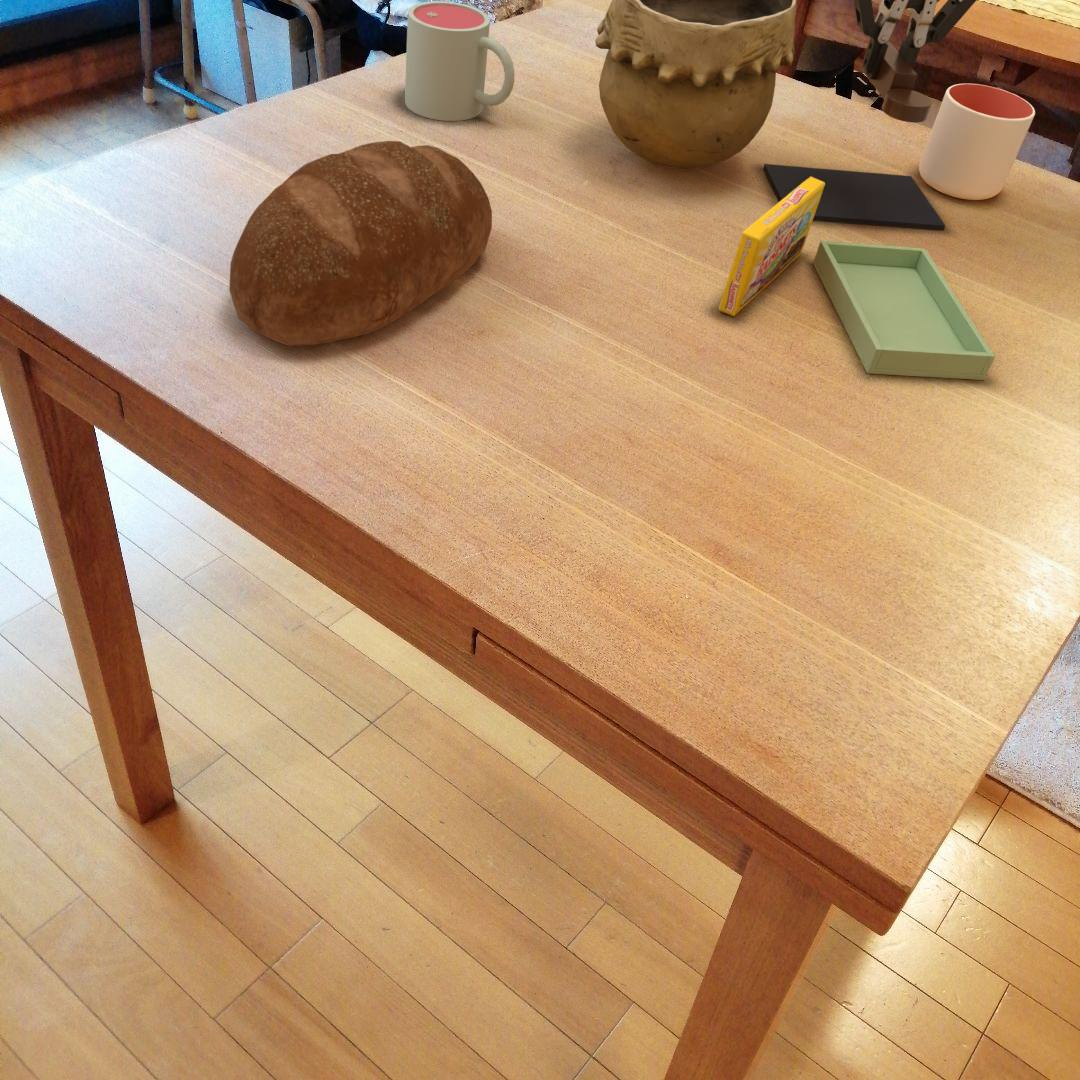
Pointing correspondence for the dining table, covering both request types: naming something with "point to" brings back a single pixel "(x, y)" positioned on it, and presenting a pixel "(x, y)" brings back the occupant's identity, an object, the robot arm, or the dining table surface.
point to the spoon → (900, 89)
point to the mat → (860, 197)
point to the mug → (451, 61)
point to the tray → (901, 312)
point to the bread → (357, 242)
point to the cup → (975, 141)
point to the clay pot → (692, 74)
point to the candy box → (771, 245)
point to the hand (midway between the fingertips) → (884, 77)
